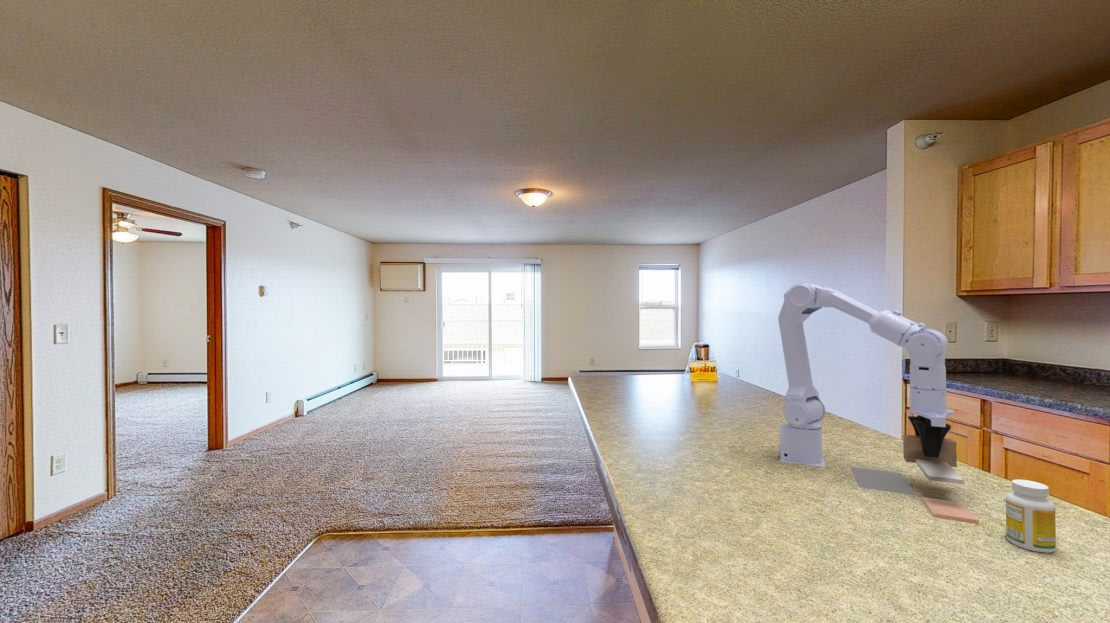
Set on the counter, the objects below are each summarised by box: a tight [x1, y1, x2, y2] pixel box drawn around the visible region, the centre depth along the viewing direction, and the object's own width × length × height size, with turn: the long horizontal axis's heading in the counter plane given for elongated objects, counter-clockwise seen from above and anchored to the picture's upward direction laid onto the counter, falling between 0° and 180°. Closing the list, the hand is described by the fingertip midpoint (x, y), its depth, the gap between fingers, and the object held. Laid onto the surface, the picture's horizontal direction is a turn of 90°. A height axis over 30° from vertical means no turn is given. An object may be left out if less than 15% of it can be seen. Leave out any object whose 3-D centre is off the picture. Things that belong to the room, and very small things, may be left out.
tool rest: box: [850, 466, 917, 496], centre depth 97 cm, size 10×14×1 cm
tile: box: [921, 496, 980, 525], centre depth 81 cm, size 6×2×8 cm
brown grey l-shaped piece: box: [902, 434, 965, 485], centre depth 88 cm, size 8×12×5 cm, turn 153°
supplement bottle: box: [1005, 478, 1057, 554], centre depth 70 cm, size 5×5×10 cm
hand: (929, 454), depth 92 cm, fingers closed on brown grey l-shaped piece, 2 cm apart
